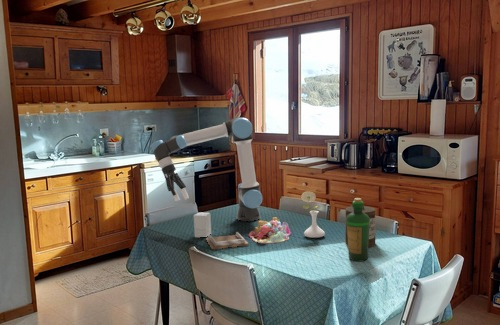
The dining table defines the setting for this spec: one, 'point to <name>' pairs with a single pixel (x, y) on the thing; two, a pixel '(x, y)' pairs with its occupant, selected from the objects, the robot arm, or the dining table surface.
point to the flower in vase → (313, 229)
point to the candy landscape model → (270, 232)
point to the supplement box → (202, 224)
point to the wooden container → (371, 215)
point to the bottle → (358, 232)
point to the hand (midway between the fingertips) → (182, 199)
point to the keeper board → (226, 241)
